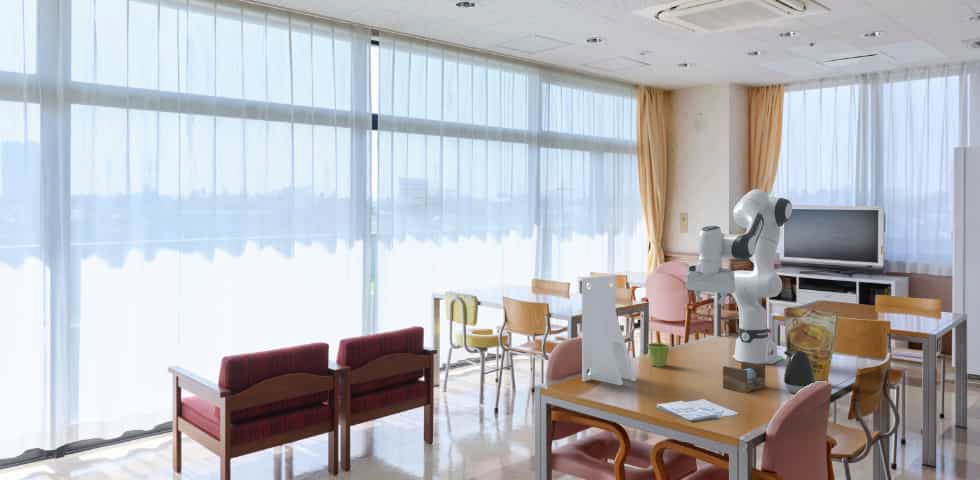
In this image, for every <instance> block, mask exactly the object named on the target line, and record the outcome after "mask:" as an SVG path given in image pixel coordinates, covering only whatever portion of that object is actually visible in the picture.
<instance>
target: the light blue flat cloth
mask: <svg viewBox="0 0 980 480" xmlns="http://www.w3.org/2000/svg"><path fill="white" fill-rule="evenodd" d="M655 408H658V409H660V410H662V411H664V412H667V413H669V414H672V415H674V416H676V417H678V418H681V419H683V420H685V421H688V422H689V423H690V422H691V423H692V422H697V421H705V420H710V419H711V420H712V419H720V418H726V417H725V416H727V417H733V416H739V415H740V413H739V412H736V411H735V410H732V409H729V408H726V407H724V406H721V405H719V404H715V403H714V402H711V401H709V400H706V399H705V398H702V399H697V400H690V401H684V400H679V401H670V402H667V403H666V402H665V403H656V406H655Z"/></svg>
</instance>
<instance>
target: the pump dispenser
mask: <svg viewBox="0 0 980 480" xmlns="http://www.w3.org/2000/svg"><path fill="white" fill-rule="evenodd" d="M783 353H784V355H786V357H787V356H789V357H790V358H789V360H788V363H787V362H786V365H785V370H784V376H783V382H784V385H785V388H786V389H787V390H788V391H789V392H790V393H791V394H794V395H796V394H795V393H797V392H798V391H799V390H800V389H802V388H804V387H805V386H807V385H809V384H811V383H814V382H815V377H814V371H813V367H812V364H811V362H810V359H809V357H808V355H807V354H806V353H805V352H803V351H800V350H798V351H795V352H793V353H792V354H791V353H789V352H787V351H784V352H783Z"/></svg>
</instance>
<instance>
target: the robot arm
mask: <svg viewBox="0 0 980 480" xmlns="http://www.w3.org/2000/svg"><path fill="white" fill-rule="evenodd" d="M732 210H733V211H732V218H733V220H734V222H735V224H736V225H738V226H739V227H740V228H743V229H746V230H745V233H741V234H727V233H723V232H722V231H721V230H722V229H721V227H720V226H717V225H710V226H709V225H707V226H704V227H702V228H701V229H700V231H699V235H698V253H699V257H698V262H697V263H695V264H691V265H688V266H687V269H686V270H687V274H686V276H685V277H686V278H685V287H686V289H687V290H689V291H693V292H694V295H695V297H696V302H698V303H702V302H703V297H701V292H710V293H711V292H712V293H719V294H720V296H721V297H720V299H717V304H718V305H724V304H725V299H726V298H727V295H728V294H731V295H732V297H733V299H734V301H735V302H736V305H737V308H738V324H739V325H738V327H737V328H738V329H737V336H738V337H737V338H736V339H735V348H734V354H732V358H733V359H734V360H735V361H737V362H740V363H741V362H743V361H744V362H750V363H756V364H761V365H763V364H764V365H765V364H769V365H770V364H771V365H772V364H775V363H777V362H779V361H781V360H783V359H784V357H783V355H780V354H778V346H777V345H776V343H775V342H774V341H773V340H772V339H770V337H769V336H770V334H771V333H772V328H767V310H766V309H765V307H764V306H762V305H761V304H760V303H759V302H758V299H757V298H765V299H766V298H774V297H778V296H779V294H780V293H781V292H782V290H783V281H782V279H781V277H780V276H779V275H778V274H777V272H776V269H775V259H776V252H777V250H778V246H779V241H780V236H781V227H782V226H784V224H786V223H787V222H788V221H789V220H790V219H791V216H792V214H793V204H792V202H791V201H790V200H789V199H787V198H783V197H777V196H776V197H775V196H769V195H768V194H767V193H766V192H765V191H764V190H762V189H757V188H755V189H751V190H750V191H749V192H747V193H746V194H744V195H743V197H741V198H740V200H739V201H737V204H735V206H734V208H733V209H732ZM723 259H727V260H738V261H748V260H749V261H750V262H752V264H753V270H742V269H741V270H740V269H739V270H734V271H733V270H732V269H731V268H723Z"/></svg>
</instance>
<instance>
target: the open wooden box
mask: <svg viewBox="0 0 980 480" xmlns="http://www.w3.org/2000/svg"><path fill="white" fill-rule="evenodd" d="M740 363H741V364H740V365H741V367H740V368H738V367H732V366H728V365H727V366H726V365H723V366H722V389H726V390H731V391H734V390H735V392H739V391H740V392H741V393H749V392H752V391H754V390H758V389H762V388H765V387H766V365H765V364H757V363H750V362H744V361H743V362H740ZM748 368H751V369H753V370H754V371H755V372H756V374H757V379H754V380H751V381H747V370H744V369H748Z"/></svg>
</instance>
